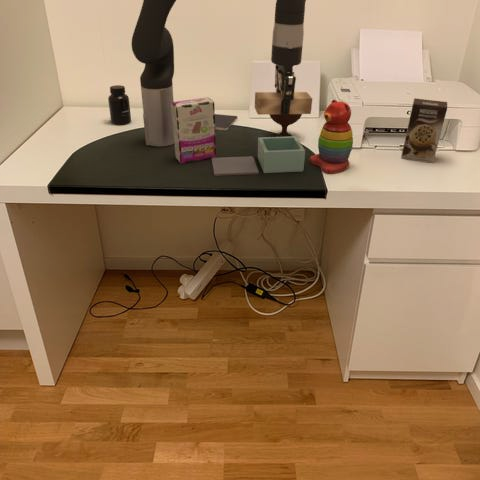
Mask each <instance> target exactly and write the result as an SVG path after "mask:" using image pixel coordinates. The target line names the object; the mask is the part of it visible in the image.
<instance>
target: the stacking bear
mask: <svg viewBox="0 0 480 480" xmlns="http://www.w3.org/2000/svg"><path fill="white" fill-rule="evenodd" d="M323 116H324V117H323V118H324V119H325V120H324V121H325V123H323V126H322V127H321V130H320V134H319V136H318V144H317V147H318V153H317V154H313V155H311V156H310V158H309V159H308V162H309V163H310V164H311V165H314V166H316V167H317V166H318V167H319V168H320V169H321V172H323V173H324V174H329V175H333V174H338V173H342V172H344V171H345V170H347V169H349V167H350V161H349V158H350V156H351V153H352V149H353V145H354V137H353V129H352V127H351V124H350V123H349V121H350V120H351V116H352V109H351V107H350V105H349V104H348V103H346V102H345V101H338V100H336V99H332V101H331V103H330V104H329V105H328V106H327V107H326V108H325V110H324V113H323Z"/></svg>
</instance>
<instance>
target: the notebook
mask: <svg viewBox="0 0 480 480" xmlns="http://www.w3.org/2000/svg"><path fill="white" fill-rule="evenodd" d="M237 120H238V116H237V115H232V114H231V115H229V114H219V113H217V114H216V113H215V130H217V129H218V130H219V131H228V130H229V129H230V127H232V125H233V124H234V123H235V121H237Z"/></svg>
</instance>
